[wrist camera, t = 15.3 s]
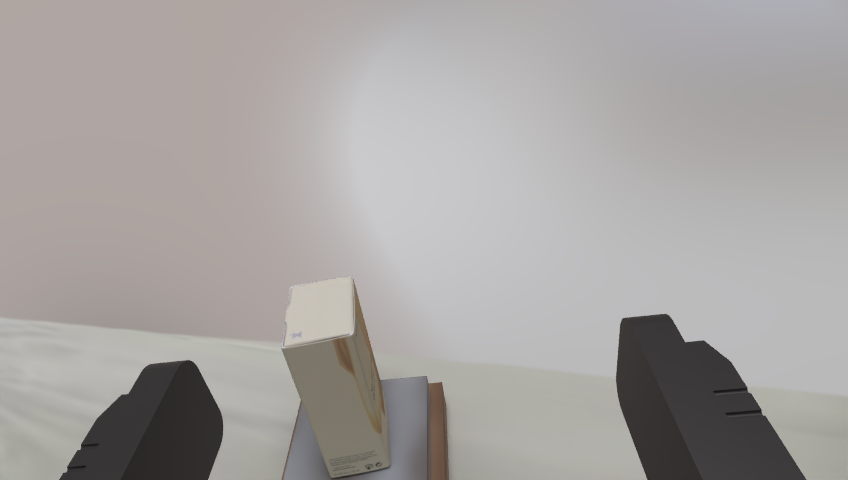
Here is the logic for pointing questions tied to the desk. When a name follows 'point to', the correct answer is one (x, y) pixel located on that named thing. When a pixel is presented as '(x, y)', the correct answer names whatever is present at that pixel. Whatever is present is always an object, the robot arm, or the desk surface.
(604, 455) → the desk surface
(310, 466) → the metal plate on wood
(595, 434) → the desk surface
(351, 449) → the skincare box
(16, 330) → the desk surface
